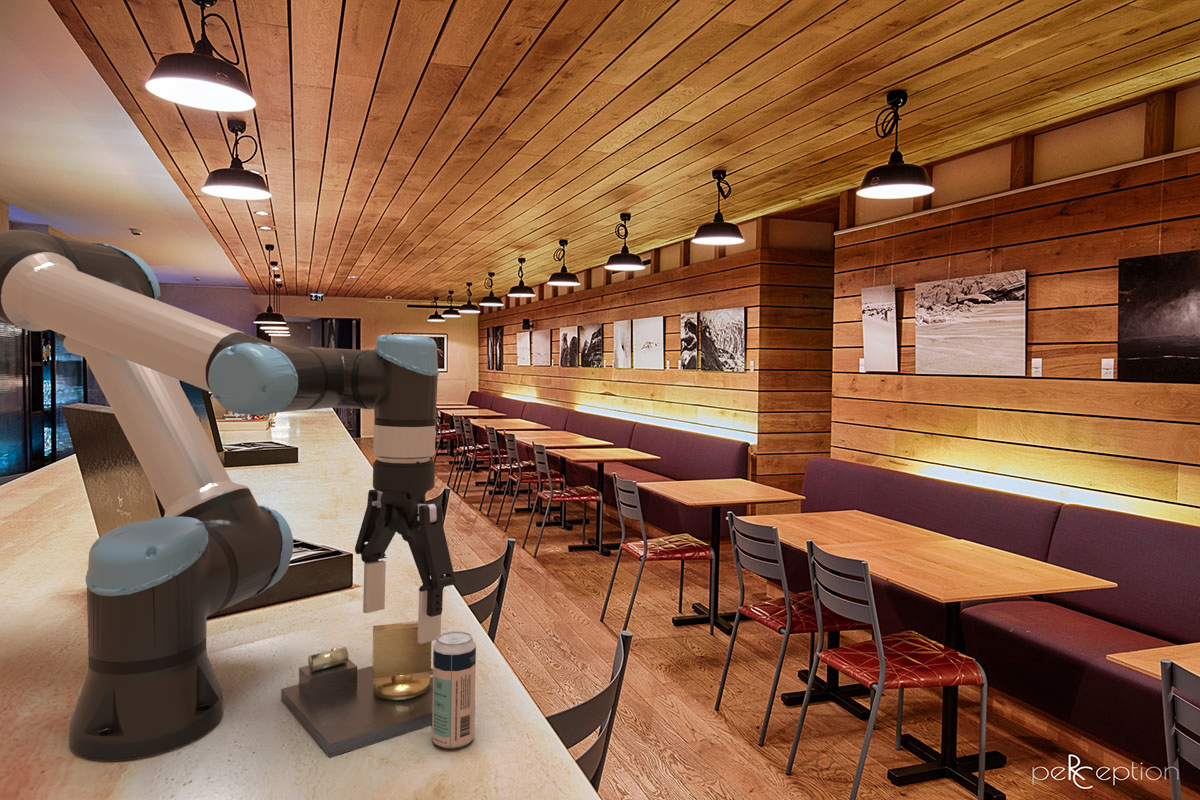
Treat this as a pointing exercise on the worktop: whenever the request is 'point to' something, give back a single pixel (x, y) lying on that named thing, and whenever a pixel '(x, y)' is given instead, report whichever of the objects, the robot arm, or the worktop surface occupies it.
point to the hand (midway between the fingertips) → (400, 625)
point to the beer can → (453, 690)
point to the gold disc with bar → (400, 661)
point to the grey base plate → (350, 705)
